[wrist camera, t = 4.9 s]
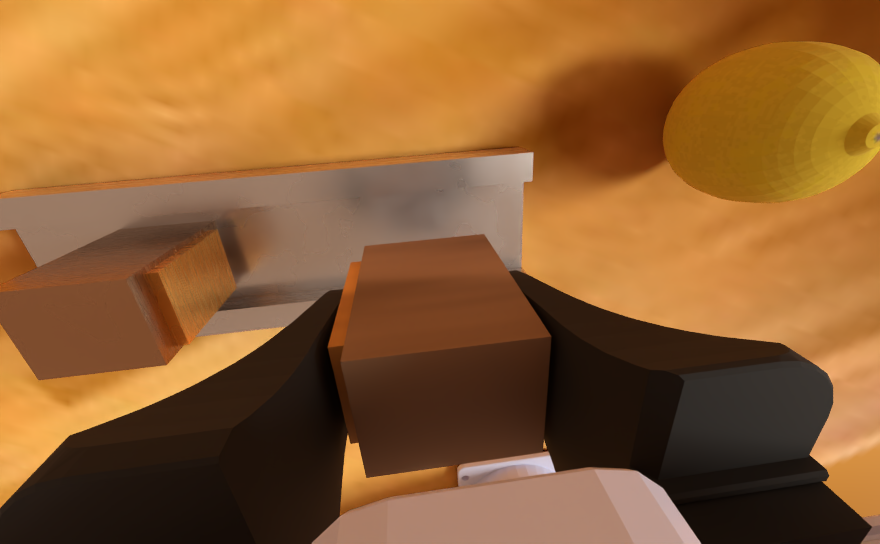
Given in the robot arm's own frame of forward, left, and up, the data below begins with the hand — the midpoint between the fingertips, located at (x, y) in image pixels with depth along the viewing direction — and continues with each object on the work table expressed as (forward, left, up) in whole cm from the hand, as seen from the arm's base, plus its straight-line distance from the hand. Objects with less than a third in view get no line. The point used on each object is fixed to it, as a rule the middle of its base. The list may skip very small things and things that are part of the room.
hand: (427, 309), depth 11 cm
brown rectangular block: (0, 0, -2) cm, 2 cm away
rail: (0, +6, -8) cm, 10 cm away
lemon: (+4, -13, -8) cm, 16 cm away
